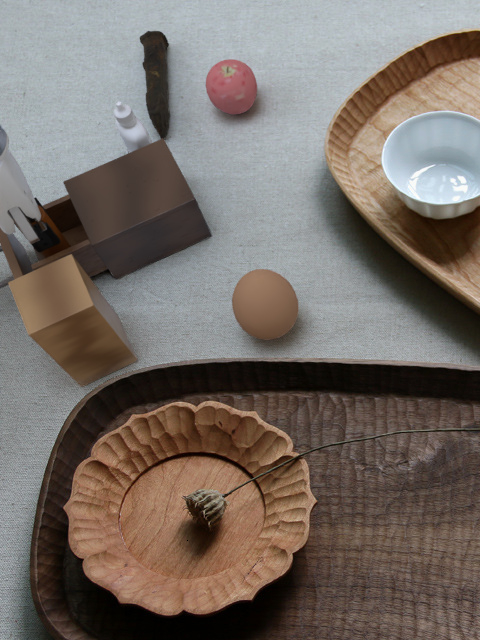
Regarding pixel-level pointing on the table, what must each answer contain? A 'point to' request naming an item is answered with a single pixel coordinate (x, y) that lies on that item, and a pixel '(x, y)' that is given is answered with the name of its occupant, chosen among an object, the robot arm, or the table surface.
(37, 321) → the block
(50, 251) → the amber bottle
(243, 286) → the egg
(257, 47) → the table surface
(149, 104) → the hand tool
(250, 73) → the apple
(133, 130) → the eye dropper bottle
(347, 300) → the table surface
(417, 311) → the table surface
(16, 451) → the table surface
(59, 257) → the drawer
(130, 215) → the cabinet
